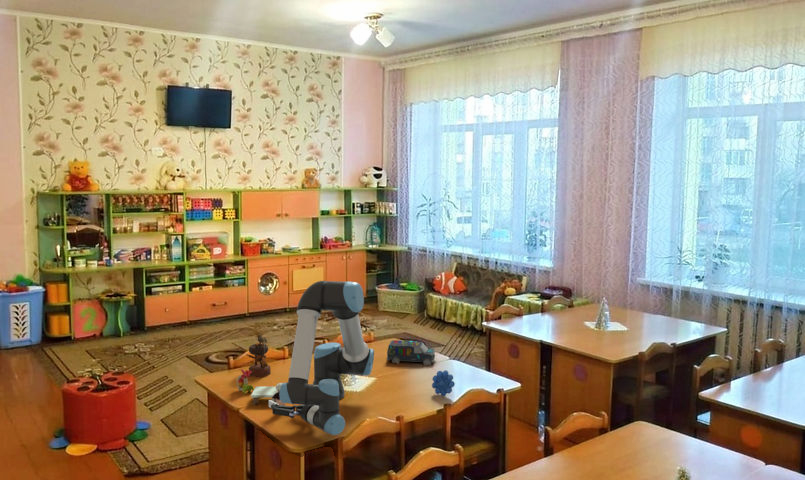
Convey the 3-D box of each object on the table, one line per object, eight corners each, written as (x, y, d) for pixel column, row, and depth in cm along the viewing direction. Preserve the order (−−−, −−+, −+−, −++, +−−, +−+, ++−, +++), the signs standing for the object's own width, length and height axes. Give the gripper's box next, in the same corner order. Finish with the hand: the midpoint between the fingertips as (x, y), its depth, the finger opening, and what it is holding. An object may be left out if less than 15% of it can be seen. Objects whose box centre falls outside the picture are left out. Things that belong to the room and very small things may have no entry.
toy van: (433, 365, 338) (433, 346, 337) (386, 363, 342) (386, 344, 341) (435, 359, 349) (436, 341, 347) (389, 357, 352) (389, 338, 351)
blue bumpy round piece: (459, 396, 294) (459, 369, 293) (451, 400, 289) (451, 373, 288) (437, 390, 301) (437, 365, 300) (429, 394, 296) (429, 368, 294)
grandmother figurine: (285, 409, 277) (285, 380, 275) (290, 412, 274) (290, 382, 272) (269, 413, 272) (269, 384, 270) (274, 416, 269) (273, 386, 267)
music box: (278, 373, 323) (275, 334, 319) (261, 381, 314) (257, 341, 310) (257, 367, 332) (253, 329, 328) (240, 374, 323) (236, 335, 319)
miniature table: (280, 396, 292) (280, 386, 291) (277, 405, 281) (277, 395, 280) (255, 396, 292) (255, 386, 291) (251, 405, 281) (250, 395, 280)
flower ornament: (234, 397, 296) (246, 393, 291) (227, 373, 297) (239, 369, 292) (245, 393, 301) (257, 389, 296) (238, 370, 302) (250, 365, 297)
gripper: (286, 432, 245) (257, 415, 260) (340, 415, 261) (309, 400, 277) (286, 413, 244) (256, 397, 259) (340, 397, 260) (309, 383, 276)
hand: (283, 399), depth 268 cm, fingers open, 13 cm apart
